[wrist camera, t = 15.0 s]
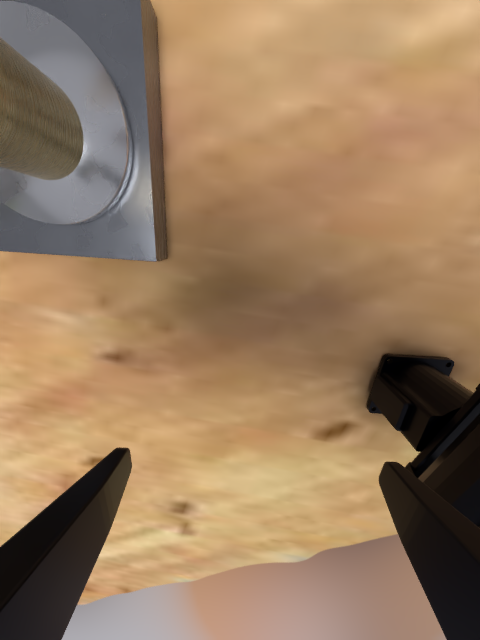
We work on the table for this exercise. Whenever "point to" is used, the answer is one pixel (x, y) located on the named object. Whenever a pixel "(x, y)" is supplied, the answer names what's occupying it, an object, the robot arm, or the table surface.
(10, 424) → the table surface
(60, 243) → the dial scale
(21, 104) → the brass weight
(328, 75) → the table surface
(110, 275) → the table surface
